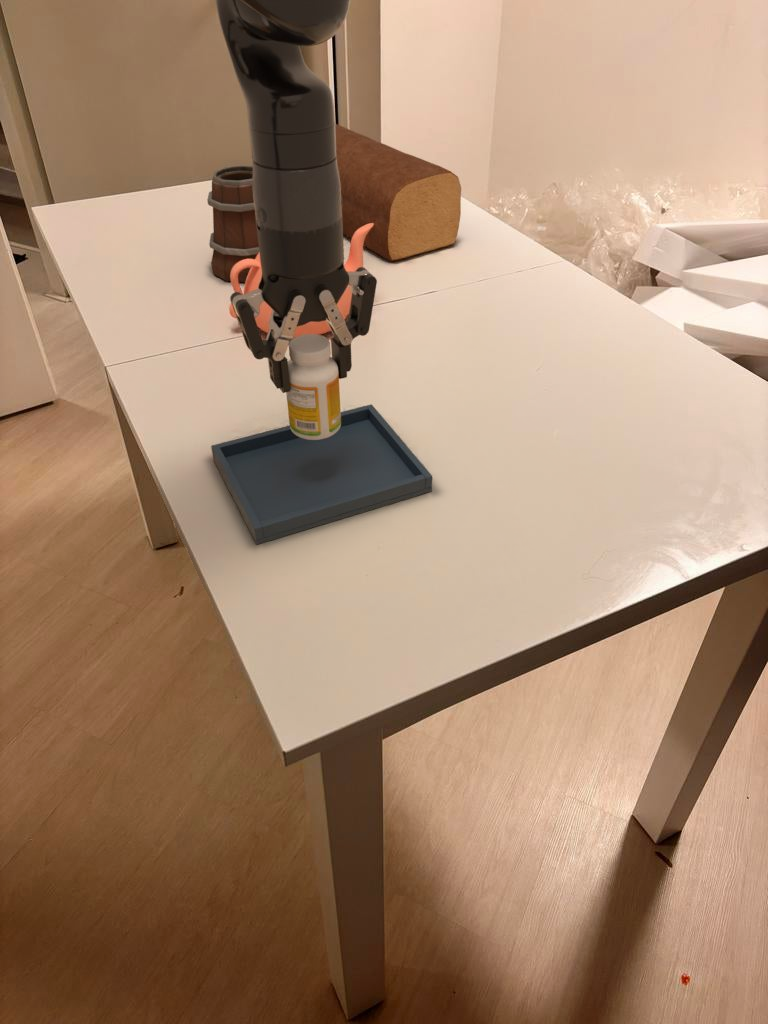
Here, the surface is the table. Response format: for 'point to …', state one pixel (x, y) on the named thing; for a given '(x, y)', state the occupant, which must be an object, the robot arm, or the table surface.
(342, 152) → the bread
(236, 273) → the teapot
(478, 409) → the table surface
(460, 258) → the table surface
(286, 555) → the table surface
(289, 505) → the tray
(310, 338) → the supplement bottle
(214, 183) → the mug
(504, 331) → the table surface
